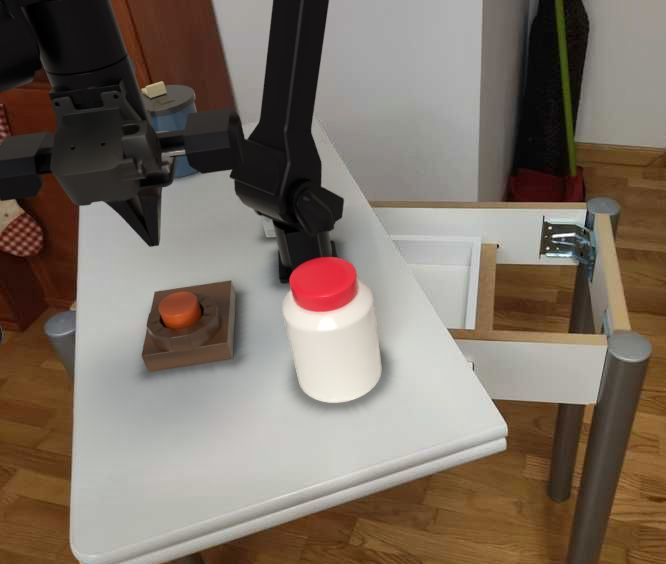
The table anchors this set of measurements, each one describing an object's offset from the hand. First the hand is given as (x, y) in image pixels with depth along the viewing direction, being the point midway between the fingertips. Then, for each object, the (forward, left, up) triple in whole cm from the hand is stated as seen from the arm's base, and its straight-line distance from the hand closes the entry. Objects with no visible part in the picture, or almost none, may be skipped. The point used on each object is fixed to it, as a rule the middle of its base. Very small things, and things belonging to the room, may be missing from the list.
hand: (155, 243), depth 57 cm
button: (0, 0, -8) cm, 8 cm away
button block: (+2, 0, -12) cm, 12 cm away
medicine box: (+21, -10, -12) cm, 26 cm away
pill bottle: (-7, -14, -12) cm, 20 cm away
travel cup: (+41, +5, -12) cm, 43 cm away
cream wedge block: (+43, +6, -2) cm, 43 cm away
